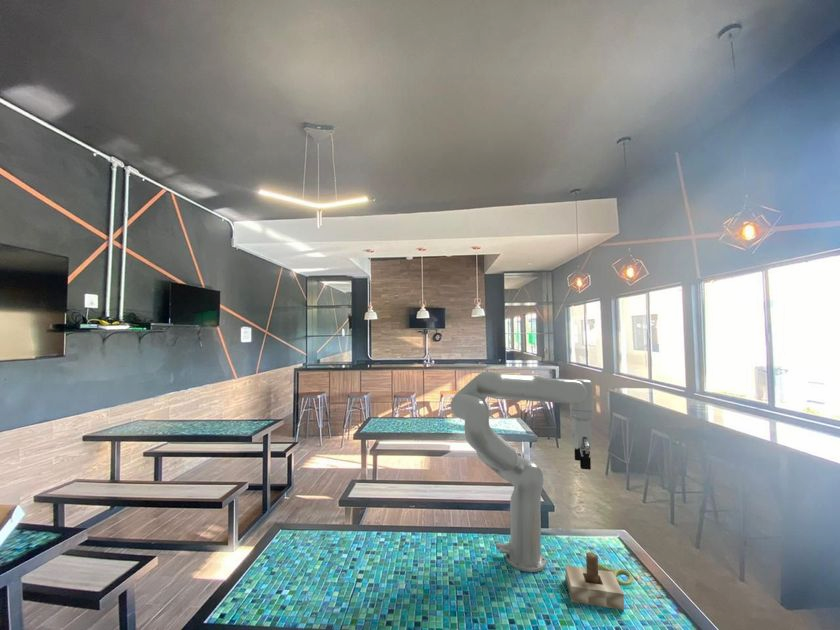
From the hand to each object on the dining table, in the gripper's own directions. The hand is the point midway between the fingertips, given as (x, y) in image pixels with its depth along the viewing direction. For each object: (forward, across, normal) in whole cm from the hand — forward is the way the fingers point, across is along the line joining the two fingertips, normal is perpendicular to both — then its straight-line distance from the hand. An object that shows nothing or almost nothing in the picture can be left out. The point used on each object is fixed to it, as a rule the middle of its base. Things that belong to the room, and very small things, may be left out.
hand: (582, 464), depth 129 cm
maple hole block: (+28, +24, -2) cm, 37 cm away
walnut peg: (+28, +24, -2) cm, 37 cm away
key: (+29, +12, +5) cm, 32 cm away
